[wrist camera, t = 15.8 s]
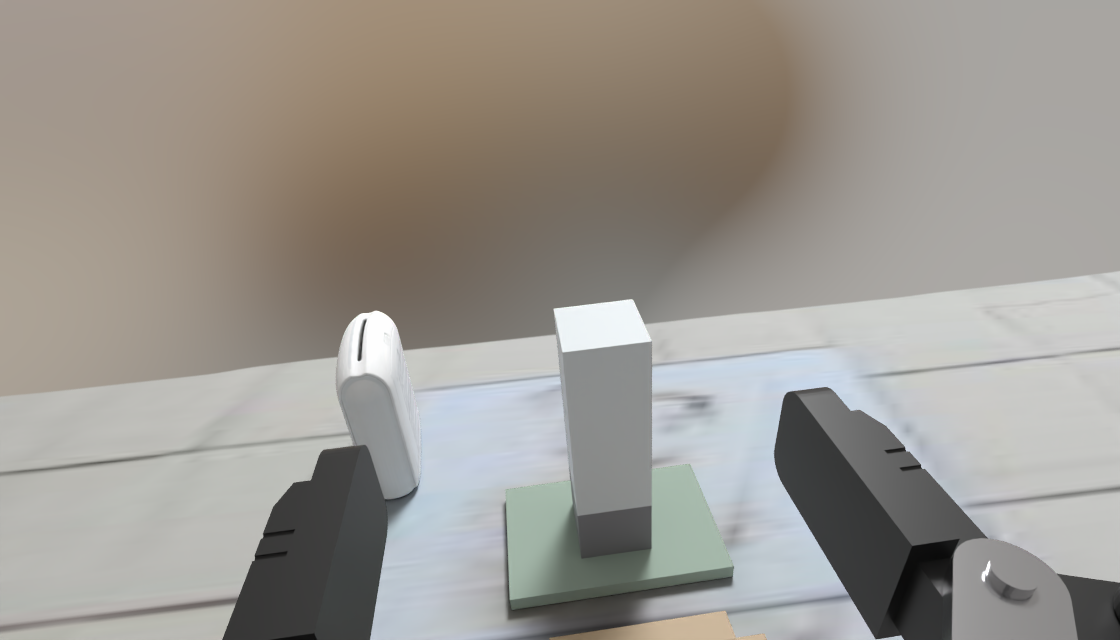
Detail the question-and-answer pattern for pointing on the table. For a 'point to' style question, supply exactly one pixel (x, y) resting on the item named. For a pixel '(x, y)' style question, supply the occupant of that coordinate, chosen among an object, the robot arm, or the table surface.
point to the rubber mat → (561, 575)
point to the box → (608, 424)
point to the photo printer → (380, 401)
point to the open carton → (670, 630)
